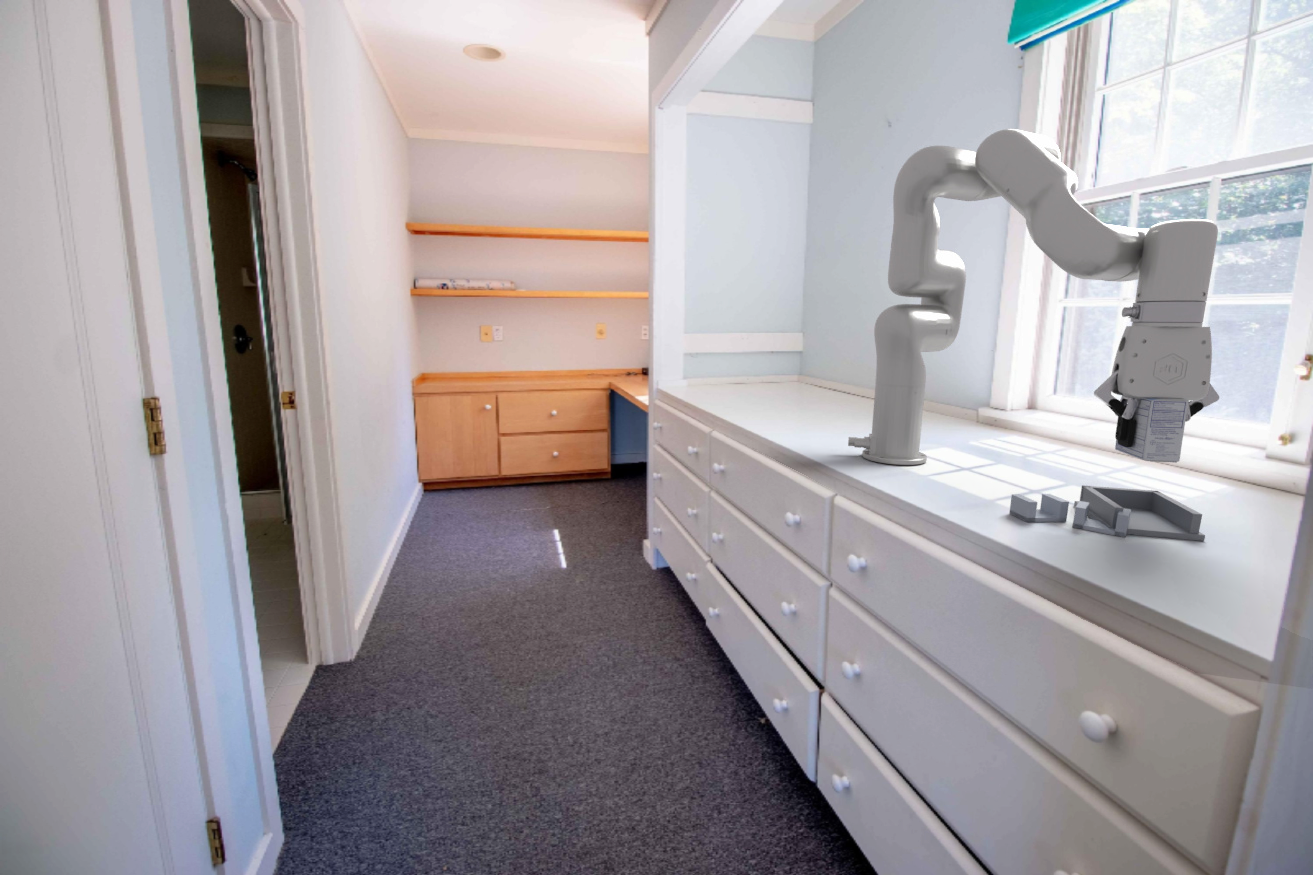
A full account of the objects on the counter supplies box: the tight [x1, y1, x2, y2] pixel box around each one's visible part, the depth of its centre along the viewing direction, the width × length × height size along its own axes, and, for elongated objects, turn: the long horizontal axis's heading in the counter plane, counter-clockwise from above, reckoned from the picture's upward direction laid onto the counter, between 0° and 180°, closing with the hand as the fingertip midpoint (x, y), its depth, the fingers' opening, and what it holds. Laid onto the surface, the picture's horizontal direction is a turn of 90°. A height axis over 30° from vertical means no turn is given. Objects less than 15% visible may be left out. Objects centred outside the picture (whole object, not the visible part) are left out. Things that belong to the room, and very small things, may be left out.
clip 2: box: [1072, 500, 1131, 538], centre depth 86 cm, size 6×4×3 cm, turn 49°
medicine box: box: [1114, 398, 1188, 464], centre depth 87 cm, size 8×4×9 cm, turn 168°
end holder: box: [1073, 484, 1206, 542], centre depth 89 cm, size 11×13×4 cm
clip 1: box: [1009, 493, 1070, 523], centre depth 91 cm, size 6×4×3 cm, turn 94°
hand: (1146, 445), depth 87 cm, fingers closed on medicine box, 4 cm apart
